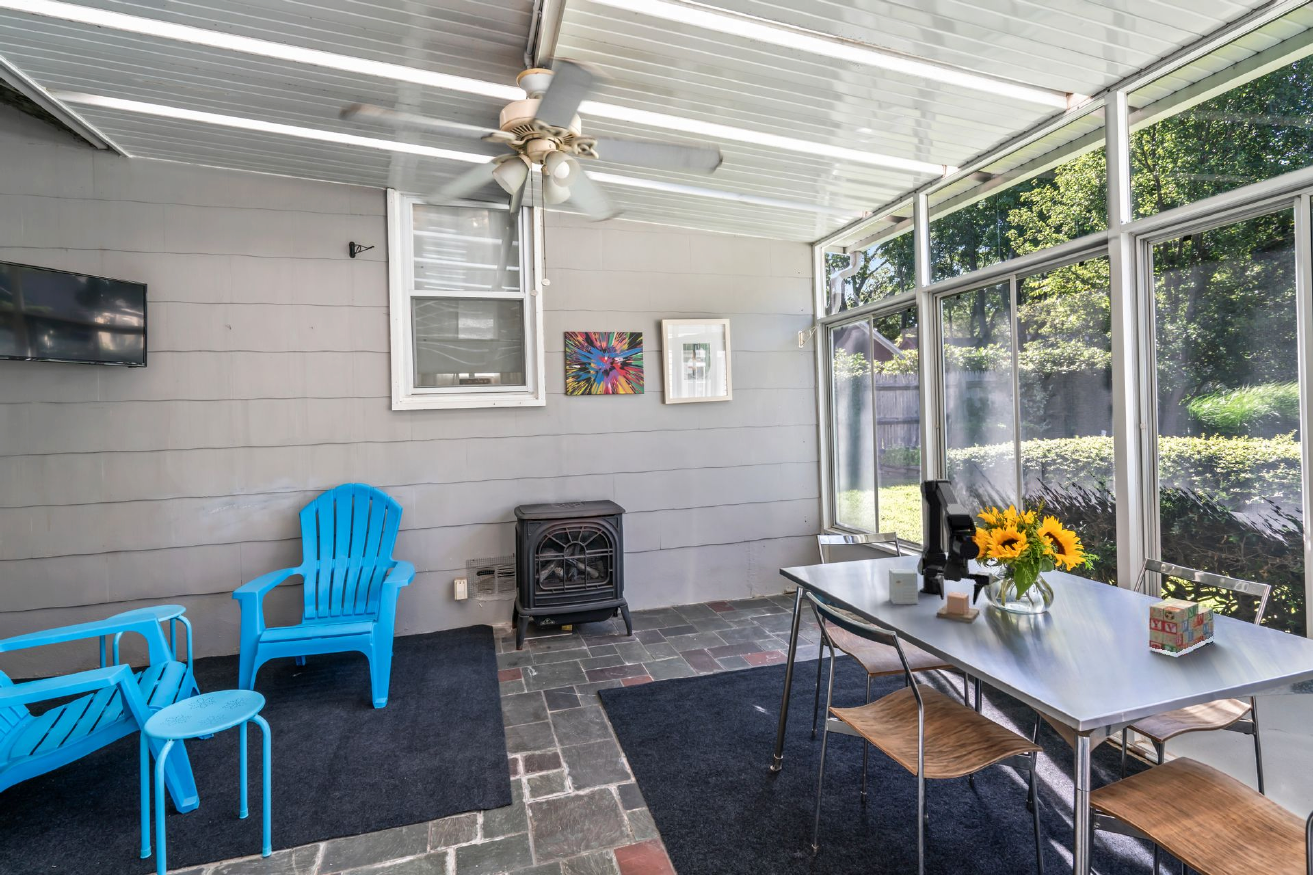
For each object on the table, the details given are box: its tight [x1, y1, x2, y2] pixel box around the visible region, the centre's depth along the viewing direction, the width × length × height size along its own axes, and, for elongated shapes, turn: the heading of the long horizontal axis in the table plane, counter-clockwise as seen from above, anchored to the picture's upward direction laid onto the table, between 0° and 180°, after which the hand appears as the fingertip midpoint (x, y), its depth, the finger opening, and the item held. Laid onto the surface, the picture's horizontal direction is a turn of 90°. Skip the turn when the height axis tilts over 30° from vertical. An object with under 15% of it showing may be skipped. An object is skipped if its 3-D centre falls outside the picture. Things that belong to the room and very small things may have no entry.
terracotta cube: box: [946, 591, 970, 615], centre depth 202 cm, size 5×5×5 cm
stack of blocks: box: [1148, 597, 1215, 653], centre depth 173 cm, size 21×6×12 cm, turn 120°
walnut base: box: [936, 604, 980, 624], centre depth 202 cm, size 10×10×2 cm
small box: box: [888, 568, 919, 605], centre depth 217 cm, size 8×6×10 cm
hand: (958, 602), depth 202 cm, fingers open, 9 cm apart
